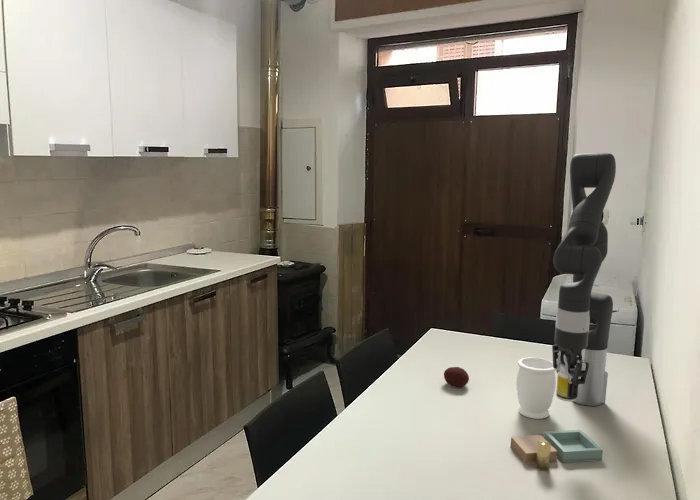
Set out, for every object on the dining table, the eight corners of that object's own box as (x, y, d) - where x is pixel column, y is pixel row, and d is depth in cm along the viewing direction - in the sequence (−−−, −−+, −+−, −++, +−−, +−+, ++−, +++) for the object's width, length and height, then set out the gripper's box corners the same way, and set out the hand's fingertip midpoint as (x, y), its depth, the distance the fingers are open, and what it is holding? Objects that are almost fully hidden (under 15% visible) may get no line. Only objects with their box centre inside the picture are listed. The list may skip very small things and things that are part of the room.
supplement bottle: (577, 403, 133) (580, 370, 132) (557, 400, 134) (559, 368, 133) (574, 394, 138) (577, 363, 137) (554, 392, 139) (557, 361, 138)
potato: (458, 379, 182) (459, 361, 181) (473, 388, 174) (475, 370, 173) (439, 382, 179) (440, 365, 178) (454, 392, 171) (455, 374, 170)
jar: (533, 424, 151) (537, 372, 149) (506, 409, 160) (510, 360, 158) (561, 416, 156) (565, 366, 153) (533, 402, 165) (537, 354, 163)
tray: (579, 439, 143) (580, 429, 143) (601, 460, 133) (602, 449, 133) (543, 441, 142) (544, 431, 141) (563, 462, 132) (563, 451, 131)
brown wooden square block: (539, 445, 140) (540, 434, 140) (556, 462, 133) (557, 451, 132) (510, 448, 139) (511, 436, 139) (525, 465, 131) (526, 453, 131)
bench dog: (545, 463, 131) (547, 440, 130) (551, 470, 128) (553, 446, 127) (533, 464, 131) (535, 440, 130) (539, 471, 128) (541, 447, 127)
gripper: (603, 335, 126) (596, 405, 129) (572, 317, 140) (567, 380, 143) (572, 336, 126) (566, 406, 129) (543, 318, 140) (539, 381, 143)
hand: (566, 392), depth 136 cm, fingers closed on supplement bottle, 4 cm apart
